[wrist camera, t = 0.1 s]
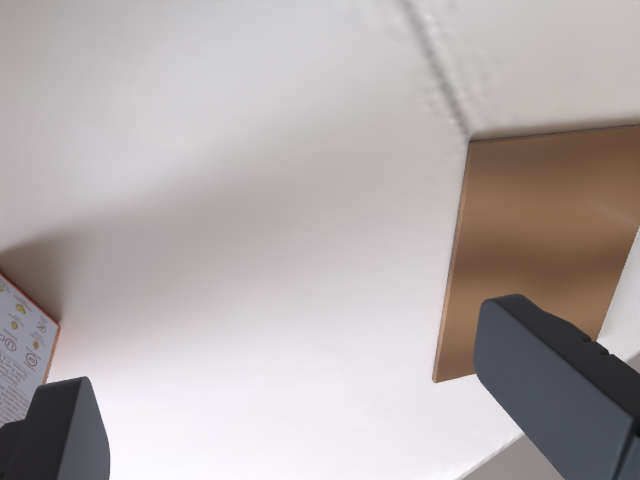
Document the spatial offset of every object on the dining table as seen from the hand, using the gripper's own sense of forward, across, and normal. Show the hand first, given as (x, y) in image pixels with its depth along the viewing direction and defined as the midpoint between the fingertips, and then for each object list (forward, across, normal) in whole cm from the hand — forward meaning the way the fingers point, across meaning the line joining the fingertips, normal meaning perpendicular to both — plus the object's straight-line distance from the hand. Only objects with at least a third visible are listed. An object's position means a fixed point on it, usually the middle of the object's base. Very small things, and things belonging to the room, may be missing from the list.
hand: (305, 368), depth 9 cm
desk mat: (+18, -23, +10) cm, 31 cm away
